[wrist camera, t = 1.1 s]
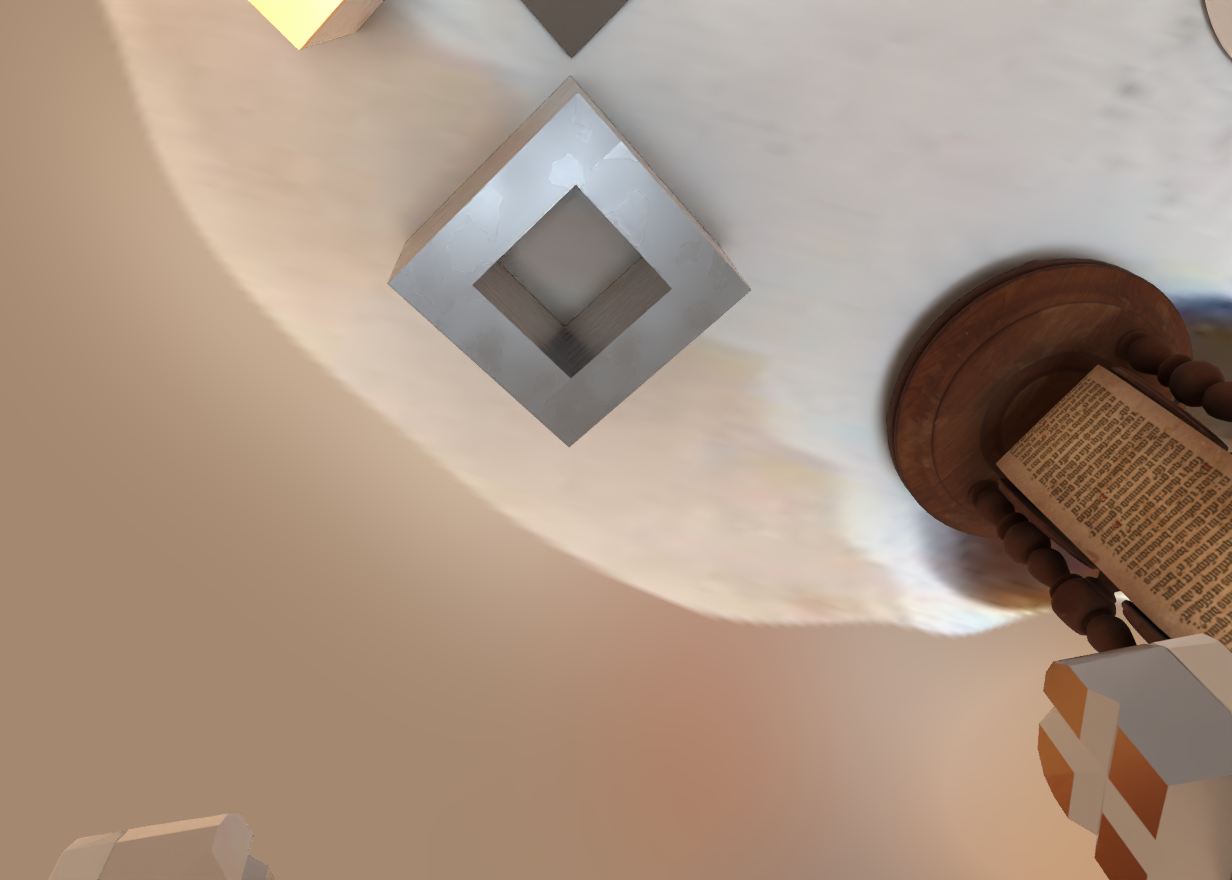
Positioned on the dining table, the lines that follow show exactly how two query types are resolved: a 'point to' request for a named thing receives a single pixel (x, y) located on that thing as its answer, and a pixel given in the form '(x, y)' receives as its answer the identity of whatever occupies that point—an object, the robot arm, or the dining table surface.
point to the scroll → (1077, 446)
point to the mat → (573, 19)
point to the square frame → (615, 321)
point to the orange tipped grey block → (316, 18)
